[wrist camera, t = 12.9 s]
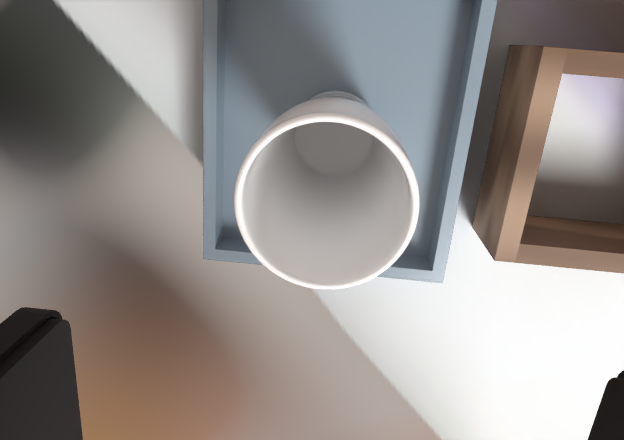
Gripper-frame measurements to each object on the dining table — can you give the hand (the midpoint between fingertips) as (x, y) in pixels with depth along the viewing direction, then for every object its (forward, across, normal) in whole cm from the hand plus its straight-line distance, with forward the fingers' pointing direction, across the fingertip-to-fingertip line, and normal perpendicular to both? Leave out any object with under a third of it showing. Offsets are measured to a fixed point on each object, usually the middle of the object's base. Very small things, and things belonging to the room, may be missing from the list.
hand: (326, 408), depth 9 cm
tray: (+25, 0, -1) cm, 25 cm away
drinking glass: (+25, 0, -1) cm, 25 cm away
